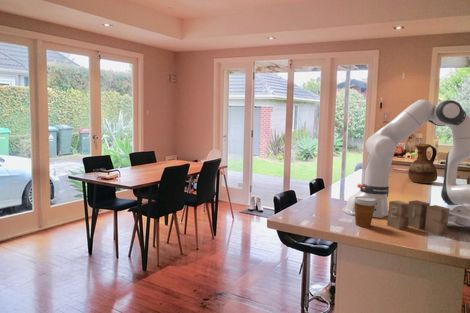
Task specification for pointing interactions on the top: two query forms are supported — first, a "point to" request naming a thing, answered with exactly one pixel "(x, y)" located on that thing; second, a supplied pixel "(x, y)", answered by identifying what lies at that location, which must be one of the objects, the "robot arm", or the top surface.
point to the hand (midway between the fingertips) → (444, 218)
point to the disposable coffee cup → (364, 210)
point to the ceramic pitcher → (423, 166)
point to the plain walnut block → (436, 220)
